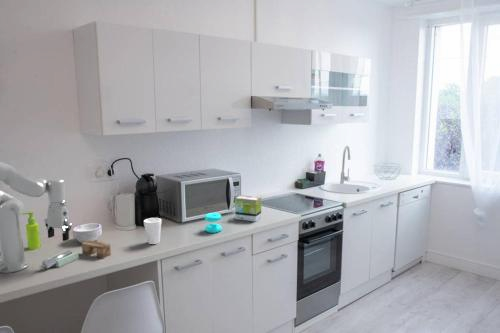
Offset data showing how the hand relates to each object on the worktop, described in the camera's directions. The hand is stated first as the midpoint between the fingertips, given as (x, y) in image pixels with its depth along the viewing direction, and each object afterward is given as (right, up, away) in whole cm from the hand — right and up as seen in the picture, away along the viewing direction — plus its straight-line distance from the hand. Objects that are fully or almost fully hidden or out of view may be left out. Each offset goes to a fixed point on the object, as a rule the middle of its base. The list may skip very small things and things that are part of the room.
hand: (58, 238), depth 193 cm
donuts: (+71, -4, +46) cm, 85 cm away
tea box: (+92, 0, +69) cm, 116 cm away
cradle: (+1, -12, +2) cm, 12 cm away
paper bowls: (+1, -7, +32) cm, 33 cm away
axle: (0, -12, -1) cm, 12 cm away
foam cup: (+40, -7, +26) cm, 49 cm away
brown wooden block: (+15, -10, +10) cm, 21 cm away
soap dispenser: (-24, -9, +22) cm, 34 cm away
